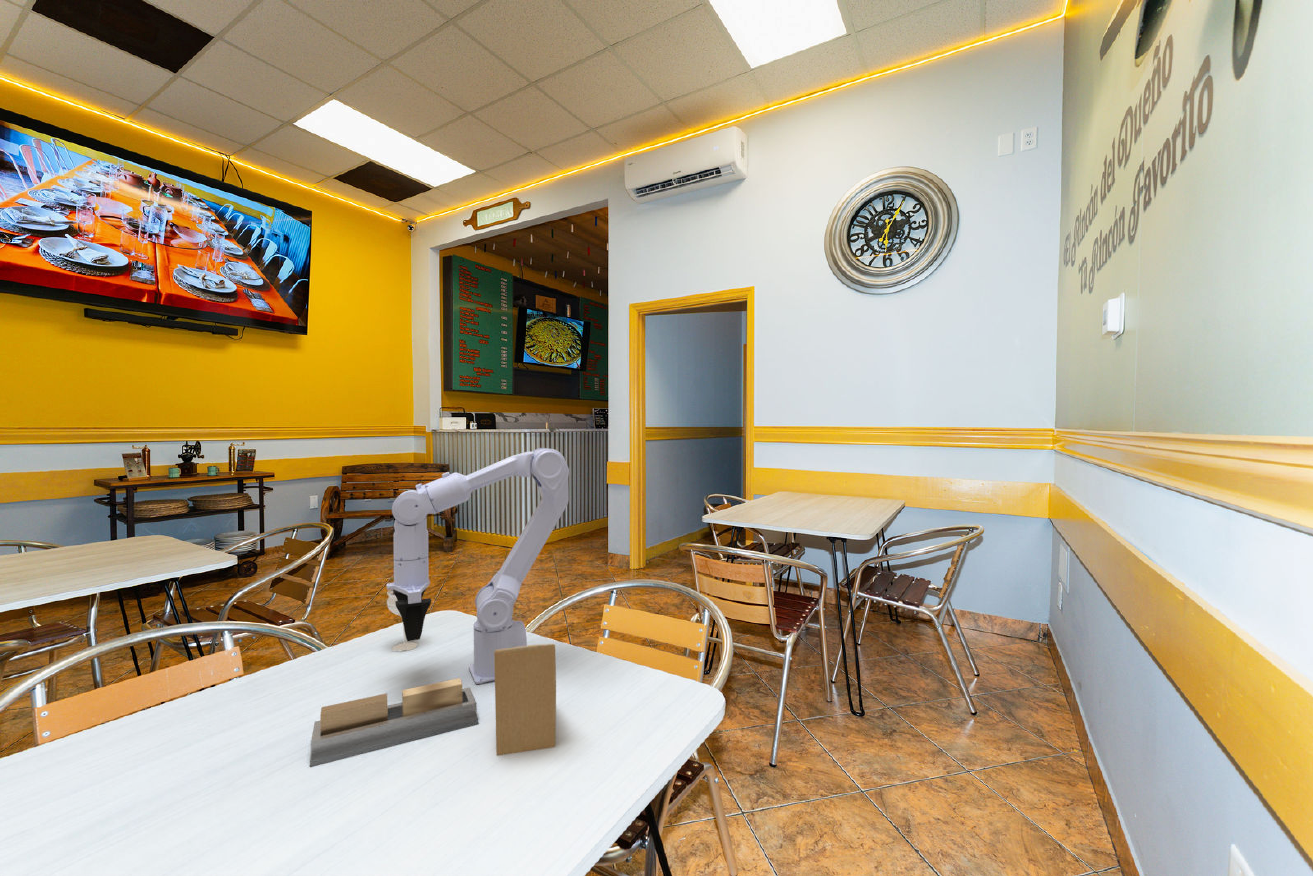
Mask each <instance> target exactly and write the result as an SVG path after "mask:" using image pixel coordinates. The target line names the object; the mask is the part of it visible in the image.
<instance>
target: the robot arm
mask: <svg viewBox="0 0 1313 876" xmlns="http://www.w3.org/2000/svg"><path fill="white" fill-rule="evenodd" d="M569 476H570V468H569V466H568V463H567V461H566V459H565V457H564V456H563V454H562V453H561V452H560V451H559V450H557V449H554V448H546V447H538V448H536V449H534V450H532V451H530V450H529V451H524V452H521V453H518V454H514V455H511V456H509V457H506V458H503V459H501V460H500V461H497V462H495V463H492V464H490V465H488V466H485V467H483V468H480V469H478V470H476V471H474V472H472V473H469V474H467V475H464V474H462V473H459V472H452V473H451V474H450V472H449V471H447V472H444V473H442V474H441V477H440V478H438V479H435V480H432V481H430V482H428V483H425V484H422V482H421V483H418V484H416V485H415V488H416V490H415V489H410V490H409V489H408V490H406V491H402V493H400V495H398V496H397V497H396V498H395V500H394V501H393V503H392V507H391V513H392V516H393V518H394V519H395V520H394V523H393V528H394V532H393V582H388V583H386V590H388V591H389V590H392V589H393V593H394V594H395V596H396V598H397V600H398V601H395V604H396V607H397V609H398V611H399V612H400V614H401V617H402V618H401V617H400V618H401V619H402V626H403V625H404V630H405V635H406V642H414V641H417V640H420V639H421V638H422V637H421V636H422V634H423V628H424V623H425V619H426V615H427V612H428V610H429V609H430V606H431V604H432V598H430V597H427V598H423V596H424V595H425V592H426V589H427V588H428V587H429V586H430V585H431V580H430V578H429V574H430V573H429V567H430V566H429V565H430V564H429V530H428V527H427V525H428V524H427V523H428V521H427V517H428V514H432V515H436V514H438V513H440V512H443V511H446V510H448V509H450V508H453V507H455V506H458V505H460V504H463V503H466V502H468V500H469V499H470V498H471V494H472V493H473V492H474V491H477V490H479V489H481V488H484V487H487V486H489V485H492V484H494V483H497V482H500V481H503V480H505V479H509V478H510V477H522V478H531V477H532V478H533V480H534V481H535V483H536V484H537V485H536V486H537V489H538V492H539V495H540V497H541V498H540V501H539V503H538V504H537V506H536V508H535V509H534V511H533V513H532V515H531V517H530V518H529V519H528V522H527V523H526V524H525V526H524V528H523V530H522V532H521V533H520V535H519V537H518V538H517V541H516V542H515V543H514V545H513V546H512V548H511V549H510V551H509V554H508V555H507V557H506V558H505V560H504V562H503V563H502V565H501V567H500V569H499V570H498V571H497V572H496V573H495V574H494V575H493V576H492V577H491V580H490V581H489V582H488V583H486V585H484V586H483V587H482V588H480V589H479V591H478V592H477V594H476V596H475V601H474V603H475V608H476V621H475V622H474V623H473V664H471V665H468V670H469V672H470V675H471V677H472V679H473V681H474V682H475V684H477V685H480V684H484V683H487V682H493V681H495V665H494V653H495V650H499V649H506V648H513V647H520V646H528V644H527V643H528V642H527V641H528V640H527V629H526V626H525V623H524V621H522V620H514V619H513V613H514V607H515V606H514V605H515V603H516V601H517V599H518V597H519V594H520V590H521V587H522V584H523V582H524V580H525V578H526V577H527V575H528V574H529V572H530V570H531V568H532V566H533V565H534V563H535V561H536V559H537V558H538V556H539V554H540V553H541V552H542V549H543V547H544V545H546V542H547V540H548V539H549V537H550V535H551V534H552V532H553V530H554V528H555V527H556V525H557V524H558V522H559V520H560V518H561V517H562V515H563V513H564V511H565V510H566V508H567V506H568V504H569Z"/></svg>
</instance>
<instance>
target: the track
mask: <svg viewBox="0 0 1313 876" xmlns="http://www.w3.org/2000/svg"><path fill="white" fill-rule="evenodd" d="M477 707H478V706H477V700H476V698H475V696H474V694H473V691H472V689H471V687H466V688H462V703H461V704H457V705H453V706H448V707H444V708H440V709H435V710H431V711H427V712H422V713H418V714H414V715H410V716H405V717H403V713H402V702H397V703H393V704H389V705H388V693H382V694H378V695H372V696H368V697H364V698H360V699H359V698H358V699H354V700H349V701H345V702H338V703H336V704H330V705H326V706H322V707H321V709H320V720H316V721H314V724H313V728H312V735H311V741H310V754H311V755H310V761H309V767H313V766H319V765H322V764H325V763H330V762H334V761H337V760H338V761H339V760H341V759H345V758H349V757H354V756H357V755H361V754H364V753H365V754H366V753H368V752H373V751H377V750H380V749H385V748H388V747H392V746H396V745H400V744H406V743H408V742H412V741H417V740H421V739H424V738H429V737H432V736H436V735H439V734H443V733H448V732H451V731H455V730H460V729H463V728H467V727H470V726H475V725H479V717H478V714H477V713H478V712H477Z"/></svg>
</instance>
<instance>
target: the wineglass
mask: <svg viewBox="0 0 1313 876" xmlns="http://www.w3.org/2000/svg"><path fill="white" fill-rule="evenodd" d="M386 594H387V596H388V598H386V605H387V608H388V610H389V611H390V613H393V614H394V615H397V616H400V618H401V619H402V617H401V614H400V612H399V611H398V609H397V607H396V604H395V601H398V600H397V598H396V596H395V594H394V593H393V589H390V590H388V591H387V592H386ZM402 632H403V643H402V642H401V643H399V644H396V645H394V646H395V647H394V646H393V647H392V648H393V649H391V650H392V651H393V650H401V651H400V652H403V651H402V650H407V651H410V650H414V649H415V648H417V647H418V646H419V645H418V643H416V642H414V641H407V639H406V635H405V630H404V625H403V624H402ZM416 646H417V647H416Z"/></svg>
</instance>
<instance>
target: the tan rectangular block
mask: <svg viewBox="0 0 1313 876" xmlns="http://www.w3.org/2000/svg"><path fill="white" fill-rule="evenodd" d="M462 689H463V683H462V680H461V677H458V678H454V679H449V680H448V679H447V680H444V681H440V682H435V683H429V684H426V685H425V684H424V685H421V686H416V687H410V688H407V689H402V690H401V693H402V697H401V698H402V700H401V701H402V713H403V717H405V716H410V715H414V714H418V713H422V712H427V711H431V710H435V709H440V708H444V707H448V706H453V705H457V704H461V703H462Z"/></svg>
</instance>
